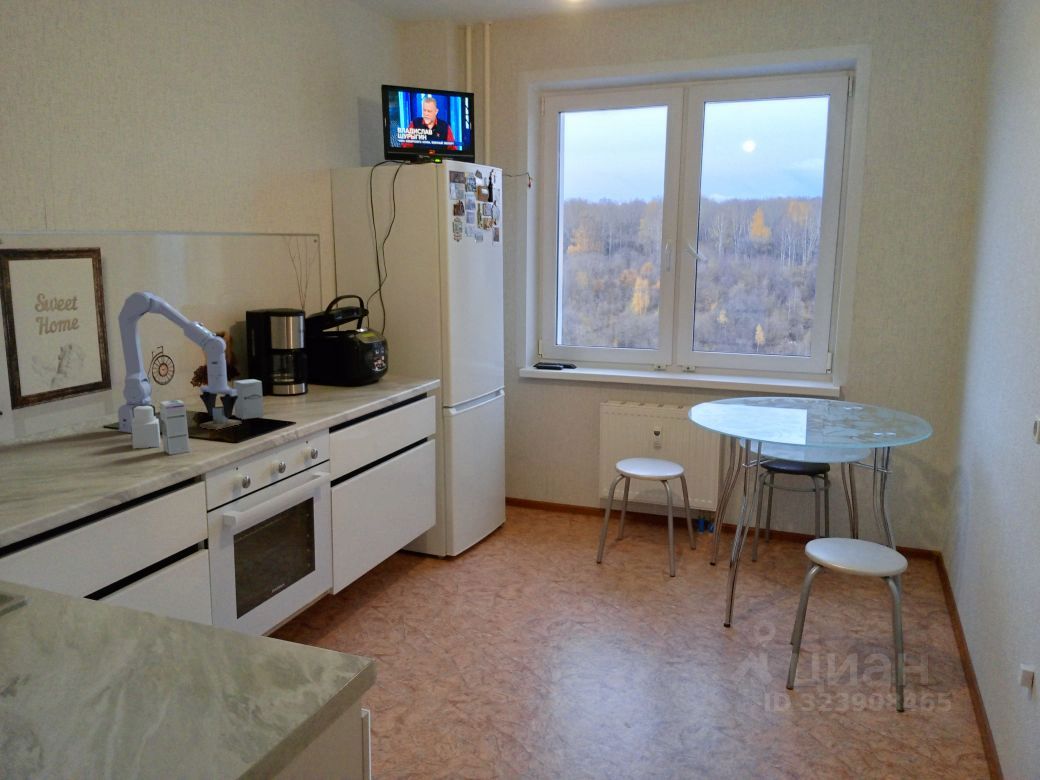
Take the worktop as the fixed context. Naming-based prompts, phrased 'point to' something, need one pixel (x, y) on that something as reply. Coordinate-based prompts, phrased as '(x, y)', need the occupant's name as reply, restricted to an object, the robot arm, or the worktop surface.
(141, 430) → the medicine bottle
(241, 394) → the supplement box
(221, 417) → the tube
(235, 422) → the shaft block
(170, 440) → the syrup box
